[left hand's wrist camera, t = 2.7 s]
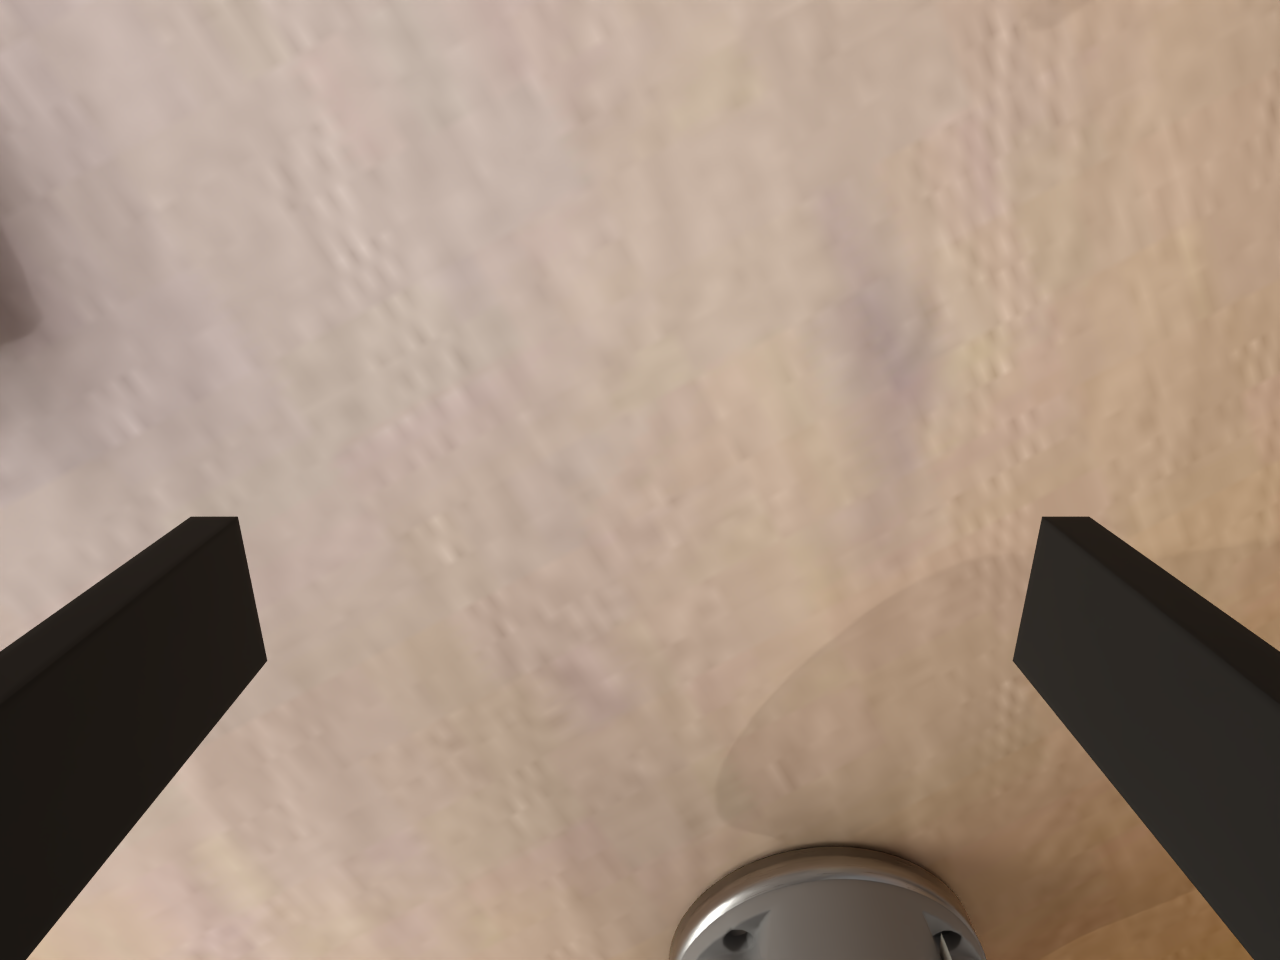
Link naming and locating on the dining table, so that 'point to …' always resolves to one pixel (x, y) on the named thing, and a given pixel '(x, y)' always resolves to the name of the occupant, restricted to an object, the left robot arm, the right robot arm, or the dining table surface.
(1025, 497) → the dining table surface
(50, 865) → the left robot arm
